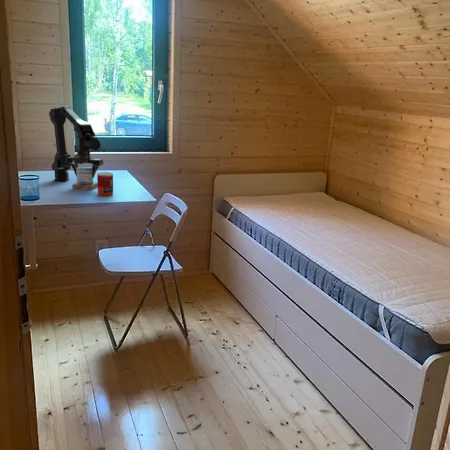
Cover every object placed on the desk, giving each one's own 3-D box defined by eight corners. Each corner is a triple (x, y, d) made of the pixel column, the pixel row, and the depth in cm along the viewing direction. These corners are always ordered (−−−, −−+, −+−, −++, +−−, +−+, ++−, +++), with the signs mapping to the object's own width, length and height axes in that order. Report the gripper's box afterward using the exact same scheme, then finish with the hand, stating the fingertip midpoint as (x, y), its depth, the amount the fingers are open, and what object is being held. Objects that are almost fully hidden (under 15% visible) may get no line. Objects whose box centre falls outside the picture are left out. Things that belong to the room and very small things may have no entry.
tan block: (72, 190, 253) (72, 184, 252) (80, 186, 262) (80, 181, 262) (90, 191, 252) (90, 186, 251) (98, 188, 261) (97, 182, 260)
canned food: (105, 197, 239) (105, 175, 236) (94, 194, 243) (93, 173, 240) (116, 194, 245) (116, 173, 242) (105, 192, 249) (105, 171, 246)
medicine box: (78, 184, 252) (77, 168, 250) (76, 183, 256) (76, 167, 254) (93, 184, 256) (93, 168, 254) (91, 182, 260) (91, 166, 257)
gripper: (60, 148, 245) (61, 178, 249) (94, 151, 242) (95, 181, 246) (70, 145, 255) (71, 174, 260) (103, 148, 253) (103, 177, 257)
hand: (85, 177), depth 255 cm, fingers open, 9 cm apart
